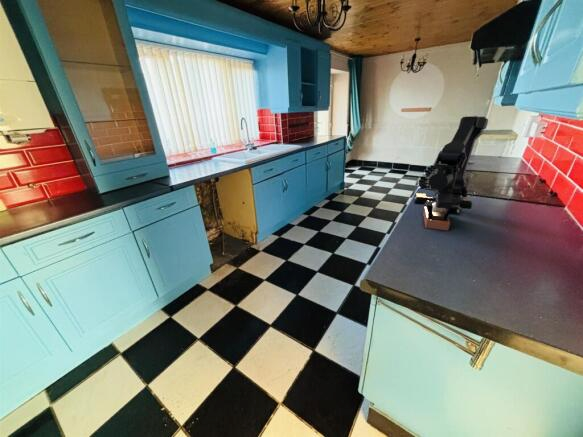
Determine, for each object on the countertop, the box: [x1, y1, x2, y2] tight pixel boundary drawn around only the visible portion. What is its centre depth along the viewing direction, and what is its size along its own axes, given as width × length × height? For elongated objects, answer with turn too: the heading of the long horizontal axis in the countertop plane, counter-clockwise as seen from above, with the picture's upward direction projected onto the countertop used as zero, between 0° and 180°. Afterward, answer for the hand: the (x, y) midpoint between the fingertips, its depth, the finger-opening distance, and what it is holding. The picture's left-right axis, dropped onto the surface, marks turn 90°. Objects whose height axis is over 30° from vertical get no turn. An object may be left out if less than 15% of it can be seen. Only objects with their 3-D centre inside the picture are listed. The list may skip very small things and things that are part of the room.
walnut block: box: [431, 212, 445, 221], centre depth 94 cm, size 4×4×4 cm
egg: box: [432, 202, 443, 213], centre depth 99 cm, size 5×5×7 cm
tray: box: [422, 206, 451, 231], centre depth 97 cm, size 8×15×4 cm, turn 156°
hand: (436, 220), depth 94 cm, fingers closed on walnut block, 4 cm apart
